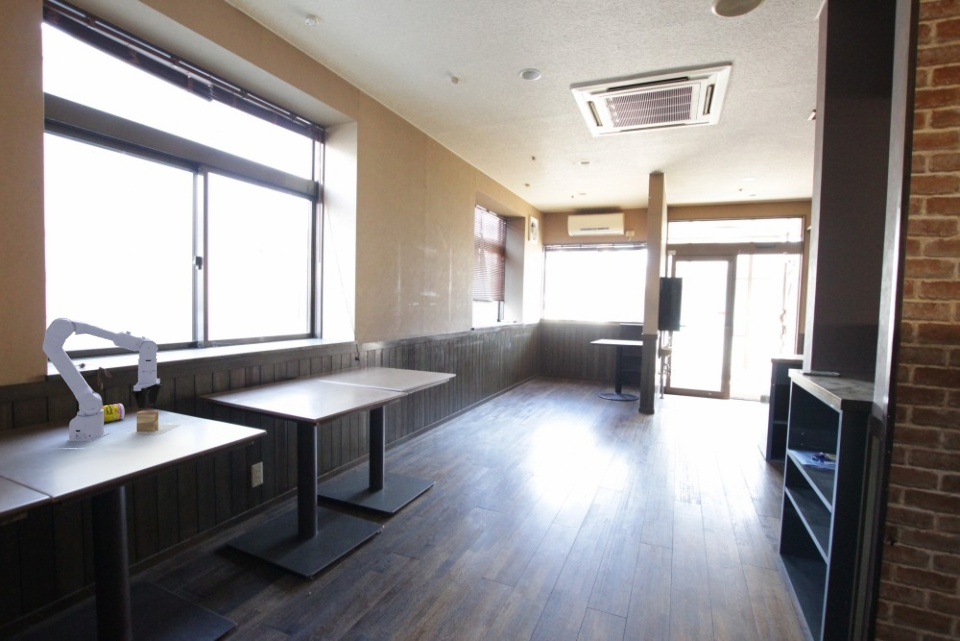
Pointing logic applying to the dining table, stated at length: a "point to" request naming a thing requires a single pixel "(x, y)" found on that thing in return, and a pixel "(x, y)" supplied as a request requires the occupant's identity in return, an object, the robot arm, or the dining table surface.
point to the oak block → (147, 421)
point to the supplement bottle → (113, 412)
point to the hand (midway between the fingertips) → (147, 405)
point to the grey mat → (159, 429)
